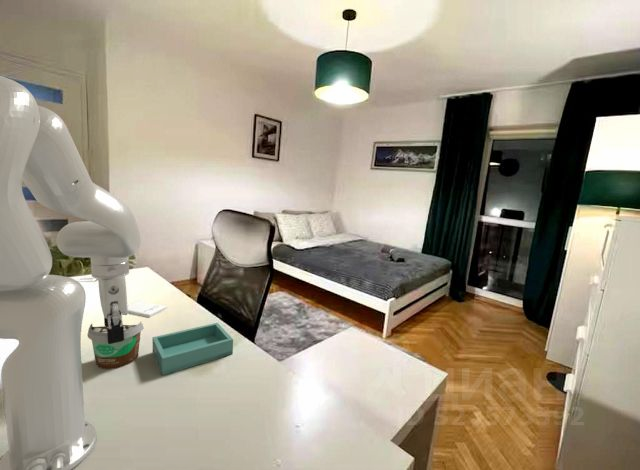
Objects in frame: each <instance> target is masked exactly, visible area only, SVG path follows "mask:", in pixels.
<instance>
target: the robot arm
mask: <svg viewBox="0 0 640 470" xmlns="http://www.w3.org/2000/svg"><path fill="white" fill-rule="evenodd" d="M23 183H24V185H26V187H27V189H28V190H29V191H30V193H31V194H32V196H33V197H34V198H35V201H37V202H38V203H39V204H41V206H44V207H45V208H48V209H50V210H51V211H55V212H58V213H61V214H64V215H66V216H69V217H73V218H74V217H75V218H77V219H81V220H84V221H74V222H70V223H68V224H66V225H64V226H63V227H62V228H61V229H59V232H58V233H57V235H56V247H57V248H58V250H59V251H60V252H61V253H62V254H63V255H65V256H67V257H71V258H89V259H90V266H91V271H90V272H91V278H93V279H96V280H97V281H98V292H99V300H100V302H99V303H100V306H101V311H102V314H103V319H104V320H103V321H104V326H108V328H107V335H108V344H112V343H117V342H121V341H123V340H124V326H123V325H124V322H123V317H122V316H127V315H128V314H129V313H128V307H127V306H128V295H127V293H128V292H127V283H126V276H128V275H129V274H130V261H129V260H130V257H132V256H134V255H135V254H137V252H138V251H139V249H140V246H141V234H140V230H139V226H138V223H137V222H136V219H135V216H134V213H133V212H132V210H131V209H130V208H129V206H127V204H126V203H124V202H123V201H122V200H120V199H119V198H118V197H116V196H115V195H113V193H110V192H109V191H108V190H106V189H105V188H103V187H102V186H99V185H98V184H96V183H94V182H93V181H92V179H91V176H90V174H89V171H88V169H87V168H86V165H85V163H84V161H83V159H82V157H81V155H80V153H79V150H78V148H77V146H76V144H75V142H74V140H73V137H72V136H71V133H70V131H69V129H68V127H67V125H66V123H65V122H64V120H63V119H62V117H61V116H60V115H58V113H55V112H54V111H53V110H51V109H49V108H46V107H43V106H42V105H38V103H37V101H36V99H35V97H34V96H33V94H32V93H31V92H30V90H29V89H27V88H26V87H25V86H24V85H22V84H20V83H19V82H16V81H15V80H13V79H11V78H8V77H5V76H2V75H0V339H1V340H2V339H3V340H7V339H8V340H12V339H13V340H16V341H18V345H17V346H16V348H15V349H13V350H12V352H11V353H10V354H9V355H8V357H6V358H5V361H4V362H3V364H2V366H1V374H0V377H1V378H0V379H1V385H2V395H3V404H4V414H5V415H4V416H5V425H6V426H5V428H6V435H7V444H8V446H7V447H8V450H7V451H6V452H5V453H4V454H3V456H2V457H1V458H0V470H73V469H74V468H75V467H77V466H78V465H79V464H80V463H81V462H83V460H84V459H86V457H87V456H88V455H89V453H91V451H92V450H93V449H94V446H95V444H96V440H97V430H96V427H95V426H94V425H93V424H92V423H90V422H88V421H85V420H86V419H85V406H84V404H85V403H84V402H85V401H84V383H83V368H82V367H83V366H82V365H83V364H82V347H81V344H82V343H81V341H82V340H81V339H82V327H83V326H82V325H83V320H84V312H85V307H86V296H87V295H86V290H85V289H84V286H83V285H82V284H81V283H80V282H79V281H77V280H76V279H74V278H71V277H69V276H64V275H57V274H50V273H51V271H52V270H51V269H52V267H53V257H52V256H53V255H52V253H51V250H50V247H49V245H48V243H47V240H46V238H45V237H44V234H43V232H42V230H41V229H40V226H39V225H38V222H37V221H36V219H35V216H34V215H33V213H32V211H31V208H30V207H29V205H28V202H27V200H26V198H25V195H24V192H23V185H22V184H23Z"/></svg>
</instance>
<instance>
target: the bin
mask: <svg viewBox="0 0 640 470" xmlns="http://www.w3.org/2000/svg"><path fill="white" fill-rule="evenodd" d="M233 351H234V339H233V338H232V336H230V334H228V332H227V331H226V329H224V328H223V327H222V326H221V324H220V323H218V322H215V323H211V324H210V323H209V324H205V325H202V326H201V325H200V326H196V327H193V328H188V329H184V330H183V329H182V330H179V331H175V332H171V333H170V332H169V333H166V334H162V335H157V336H156V335H155V336H153V337H152V354H153V357H154V359H155V361H156V364H157V366H158V368H159V371H160V373H161V375H162V376H164V375H169V374H171V373H175V372H178V371H181V370H186V369H188V368H191V367H195V366H198V365H201V364H204V363H208V362H212V361H214V360H218V359H221V358H225V357H228V356H231V355H234V354H233V353H234V352H233Z"/></svg>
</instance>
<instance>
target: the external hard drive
mask: <svg viewBox="0 0 640 470" xmlns="http://www.w3.org/2000/svg"><path fill="white" fill-rule="evenodd" d="M127 307H128V314H130V315H135V316H141V317H145V318H152V317H154V316H156V315H158V314H159V313H161V312H164V311H166V310H168V306H166V305H160V304H155V303H150V302H145V301H141V300H138V301H136V302H134V303H131V304H127ZM165 309H166V310H165Z"/></svg>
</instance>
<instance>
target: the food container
mask: <svg viewBox="0 0 640 470" xmlns="http://www.w3.org/2000/svg"><path fill="white" fill-rule="evenodd" d="M123 326H124V340H123V341H121V342H117V343H112V344H108V335H107V328H108V326H105V325H103V326H93V323H91V324H90V325H89V328H88V330H87V331H88V332H87V338H88V339H89V340H91V344H92V349H93V355H94V361H95V365H96V366H97V368H99V369H104V370H114V369H118V368H123V367H124V366H125V367H126V366H128V365H130V364H131V363H133V362H135V361H136V360H137V358H139V350H140V343H141V341H140V340H141V332H142V331H143V330H144V329H145V328H144V323H143V322H142V321H140V322H139V323H137V324H131V325H130V324H123Z"/></svg>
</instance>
